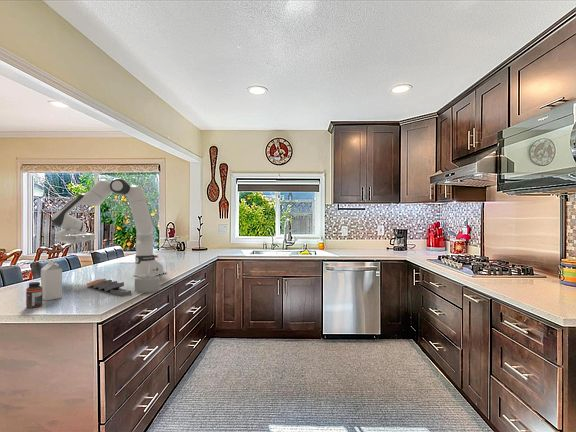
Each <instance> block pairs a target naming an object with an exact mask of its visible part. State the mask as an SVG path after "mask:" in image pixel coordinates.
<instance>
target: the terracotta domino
mask: <svg viewBox="0 0 576 432" xmlns="http://www.w3.org/2000/svg"><path fill="white" fill-rule="evenodd" d="M106 280H107V278H102V279H101V278H99V279H96V280H93V281H91V282H88V283H86V287H87V288H91V287H93V285H95V284H97V283H99V282H102V281H106Z"/></svg>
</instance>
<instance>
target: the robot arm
mask: <svg viewBox="0 0 576 432" xmlns="http://www.w3.org/2000/svg"><path fill="white" fill-rule="evenodd" d="M112 193H113V194H117V195H118V196H123V195H125V196H126V197H127V200H128V203H129V206H130V207H129V208H130V212H131V214H132V219H133V224H134V227H135V231H136V233H135V234H136V240H135V243H136V244H135V246H136V247H135V255H134V258H135V259H134V261H135V265H134V266H135V267H134V271H133V272H134V273H133V276H134V277H138V276H141V275H148V276H149V275H150V274H154V275H156V276H159V274H160V275H164V274H167V273H168V272H167V271H166V270H164V265H163V264H162V263H160V262H159V261H158V260H157V259H158V258H159V256H158V254H154V225H153V222H152V217H151V214H150V210H149V207H148V202H147V199H146V195H145V193H144V190H143V189H142V187H141V186H140V185H131V183H130V182H129V181H127V180H126V179H124V178H119V177H117V178H114V179H112V180H111V181H110V180H108V179H105V178H102V179H100V180H98V181H97V182H96V183H95V184H94V185H93V186H91V188H90V189H89V190H88V191H86V192H84V193H80V194H78V195H76V196H75V197H74V198H72V200H70V201H69V202H68V203H67V204H65V205H64V206H63V207H62V208H61V209H60V210H58V211H56V212H55V213H54V214H53V215H52V216H51V219H50V220H51V223H52V225H53V226H55V227H58V228H61V230H59V231H57V232H56V234H55V237H54V238H55V239H56V241H58V242H60V243H62V244H69V245H70V244H71V245H75V244H79V243H83V242H87V241H94V240H95V239H96V235H95V234H94V233H91V232H87V231H83V229H84V222H83V220H81V219H79V218H78V217H74V216H73V215H70V214H69V213H71V212H72V211H73V210H74V209H75V208H77V207H78V206H81V205H84V206H85V205H86V206H91V207H93V206H101V204H103V203H104V201H105V200H106V199H107V198H108V197H109V196H110V195H111V194H112ZM163 273H164V274H163Z"/></svg>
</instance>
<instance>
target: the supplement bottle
mask: <svg viewBox="0 0 576 432" xmlns="http://www.w3.org/2000/svg"><path fill="white" fill-rule="evenodd" d="M25 290H26V291H25V293H26V294H25V296H26V297H25V298H26V299H25V306H26V307H25V308H27V309H36V308H40V307H42V306H43V299H42V287H41V281H31V282H29V283H28V287H27V288H26V289H25Z"/></svg>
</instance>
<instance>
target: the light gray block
mask: <svg viewBox="0 0 576 432" xmlns="http://www.w3.org/2000/svg"><path fill="white" fill-rule="evenodd" d="M160 281H161V279H160V276H158V275H154V274H150V275H149V276H148V275H141V276H136V277H135V278H134V292H135V291H137V292H136V293H154V292H159V291H160V290H161V287H160V286H161V282H160Z"/></svg>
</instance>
